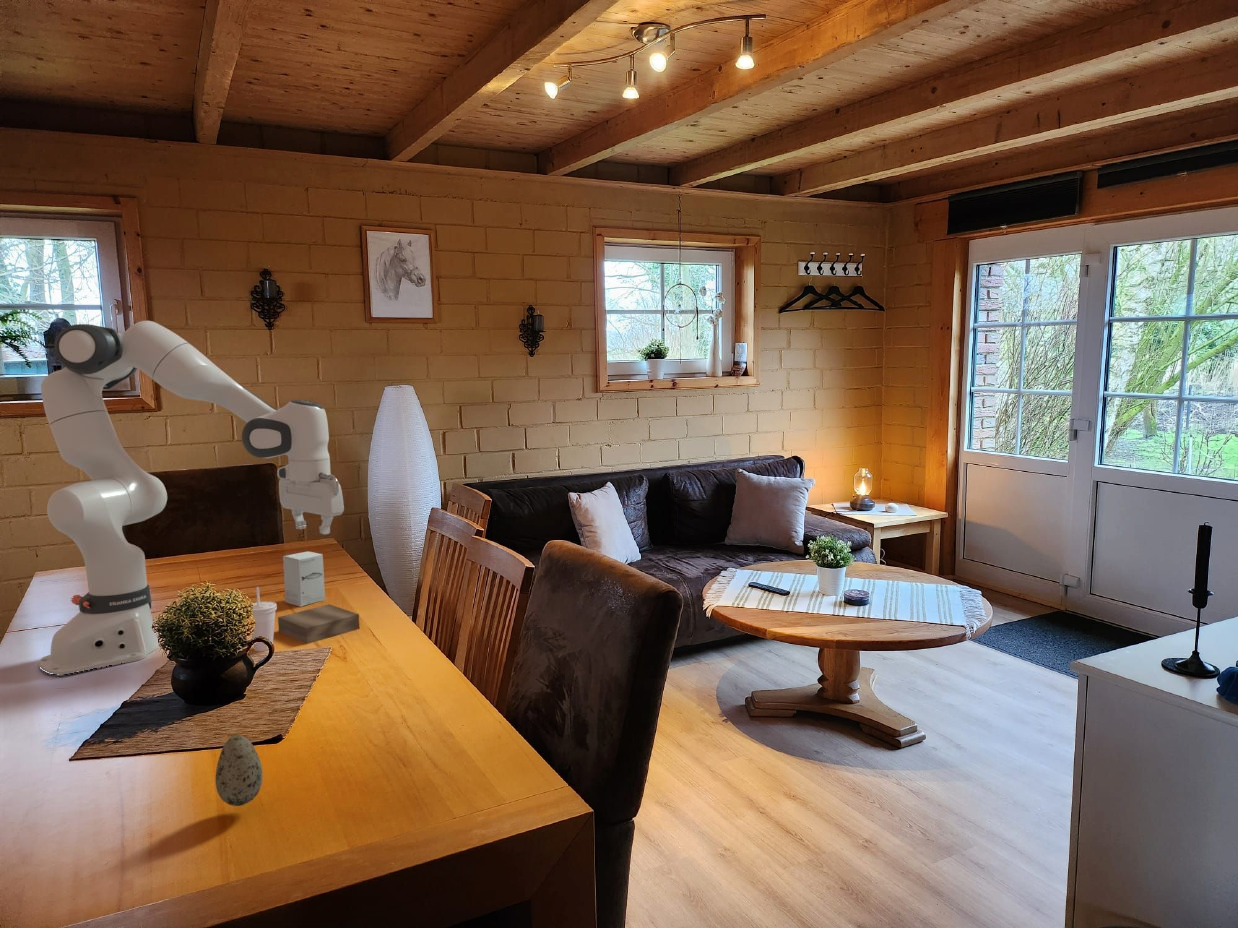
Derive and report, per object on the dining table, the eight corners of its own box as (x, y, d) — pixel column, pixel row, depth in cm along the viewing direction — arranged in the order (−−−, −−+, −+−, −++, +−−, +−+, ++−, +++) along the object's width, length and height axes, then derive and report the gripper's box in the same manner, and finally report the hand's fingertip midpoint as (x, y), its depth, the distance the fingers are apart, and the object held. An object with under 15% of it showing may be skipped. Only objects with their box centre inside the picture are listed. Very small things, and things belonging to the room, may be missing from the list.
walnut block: (307, 645, 178) (306, 628, 178) (278, 633, 187) (277, 617, 186) (359, 630, 188) (358, 614, 188) (330, 620, 197) (329, 604, 196)
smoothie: (240, 650, 174) (236, 588, 173) (265, 642, 180) (261, 581, 178) (261, 655, 171) (257, 591, 170) (285, 646, 177) (282, 584, 175)
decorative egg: (271, 791, 116) (266, 725, 114) (254, 814, 110) (248, 745, 109) (229, 792, 116) (224, 726, 114) (209, 815, 110) (204, 746, 108)
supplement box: (300, 607, 206) (297, 559, 204) (284, 602, 210) (281, 555, 209) (326, 600, 212) (323, 553, 210) (310, 596, 216) (307, 550, 215)
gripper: (349, 473, 179) (352, 534, 181) (297, 467, 191) (300, 523, 193) (324, 476, 174) (327, 539, 176) (272, 469, 186) (275, 528, 188)
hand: (312, 531), depth 185 cm, fingers open, 8 cm apart
